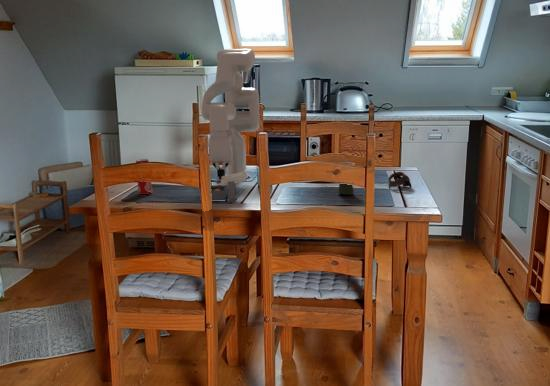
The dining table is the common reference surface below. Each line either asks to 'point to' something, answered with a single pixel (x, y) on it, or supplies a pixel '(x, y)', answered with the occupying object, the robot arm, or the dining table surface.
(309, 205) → the dining table surface
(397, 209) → the dining table surface
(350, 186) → the character mug
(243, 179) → the seesaw trough
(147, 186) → the beverage can
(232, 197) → the catapult stand
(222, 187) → the cup
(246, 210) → the dining table surface
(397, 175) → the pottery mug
